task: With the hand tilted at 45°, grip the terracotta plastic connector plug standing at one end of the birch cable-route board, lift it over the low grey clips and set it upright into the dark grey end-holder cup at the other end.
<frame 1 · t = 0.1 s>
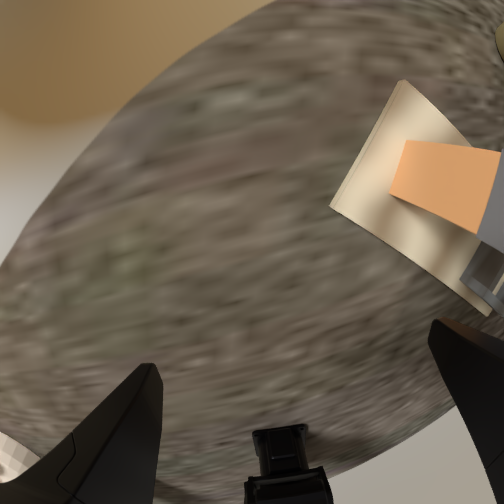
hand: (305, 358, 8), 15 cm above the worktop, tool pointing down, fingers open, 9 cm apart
route board: (461, 221, 23), on the worktop
kettle: (20, 454, 37), on the worktop
plug: (418, 177, 20), point 1 cm above the worktop, touching route board
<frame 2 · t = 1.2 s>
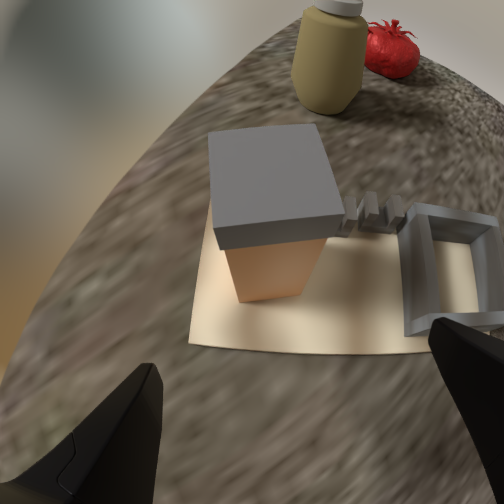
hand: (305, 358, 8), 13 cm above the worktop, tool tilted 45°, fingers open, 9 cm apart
pomegranate: (382, 67, 36), on the worktop
route board: (362, 280, 23), on the worktop
squeeze bottle: (321, 102, 32), on the worktop
plug: (265, 270, 22), point 1 cm above the worktop, touching route board
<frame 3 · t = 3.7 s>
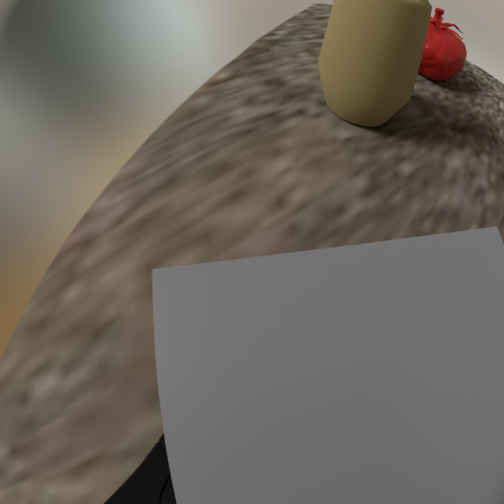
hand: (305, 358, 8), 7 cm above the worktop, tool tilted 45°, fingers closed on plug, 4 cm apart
pomegranate: (420, 66, 27), on the worktop
squeeze bottle: (356, 107, 23), on the worktop
plug: (290, 390, 13), point 1 cm above the worktop, touching gripper, route board
when the fingers open (8 cm above the worktop, at t = 8.1 s): plug drops 1 cm, resting on route board.
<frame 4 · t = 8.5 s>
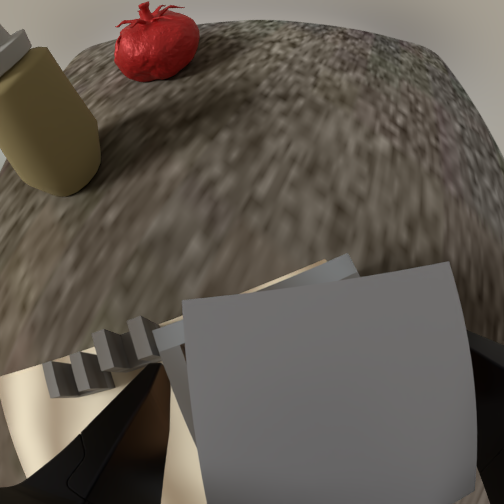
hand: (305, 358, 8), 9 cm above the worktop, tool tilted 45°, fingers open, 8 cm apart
pomegranate: (162, 67, 29), on the worktop
route board: (161, 429, 15), on the worktop
squeeze bottle: (75, 172, 23), on the worktop
plug: (287, 388, 15), point 1 cm above the worktop, touching route board
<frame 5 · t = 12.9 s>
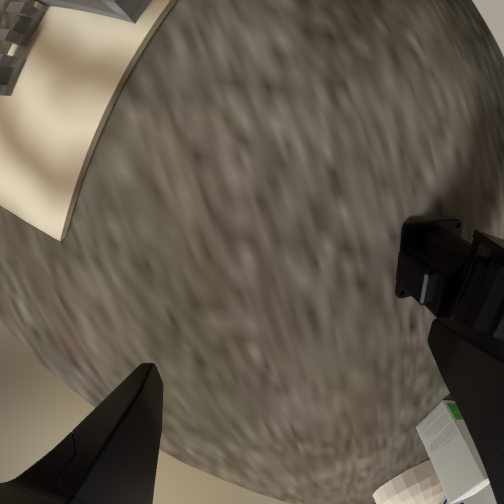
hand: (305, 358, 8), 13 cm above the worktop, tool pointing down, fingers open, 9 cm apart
route board: (68, 51, 14), on the worktop
kettle: (411, 477, 45), on the worktop
skincare box: (439, 413, 33), on the worktop
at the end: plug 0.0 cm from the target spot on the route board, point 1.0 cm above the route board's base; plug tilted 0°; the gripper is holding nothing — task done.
